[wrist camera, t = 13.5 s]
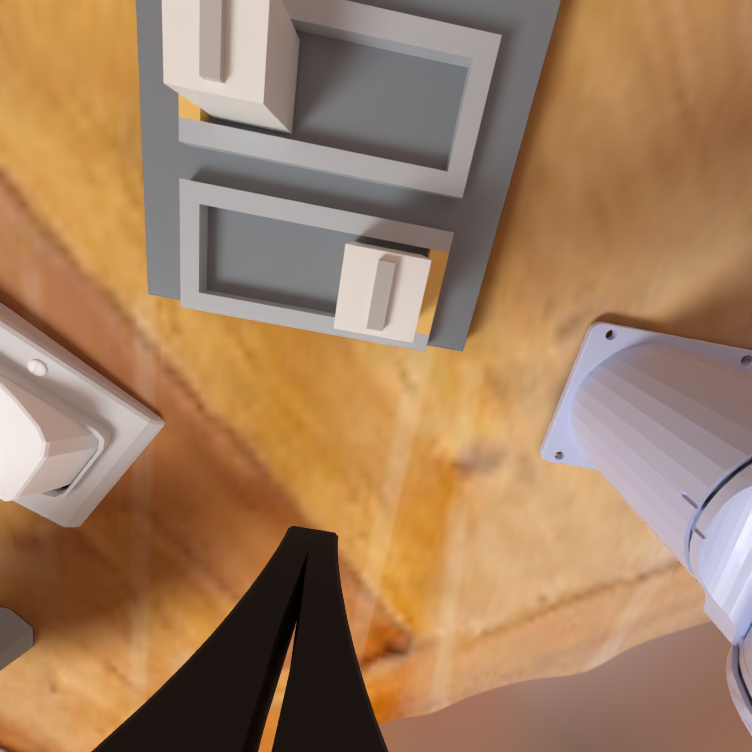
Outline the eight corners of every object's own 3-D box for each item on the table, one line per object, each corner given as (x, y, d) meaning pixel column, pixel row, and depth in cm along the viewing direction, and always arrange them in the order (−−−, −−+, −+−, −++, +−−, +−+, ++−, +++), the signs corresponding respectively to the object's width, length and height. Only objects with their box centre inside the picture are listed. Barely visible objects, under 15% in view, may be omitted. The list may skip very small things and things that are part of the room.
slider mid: (299, 40, 14) (267, -33, 10) (291, 133, 15) (260, 100, 11) (218, 22, 13) (154, -58, 10) (216, 118, 15) (157, 79, 11)
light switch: (44, 566, 22) (-219, 440, 18) (92, 513, 25) (-116, 400, 22) (140, 452, 19) (-153, 270, 15) (179, 411, 22) (-47, 259, 19)
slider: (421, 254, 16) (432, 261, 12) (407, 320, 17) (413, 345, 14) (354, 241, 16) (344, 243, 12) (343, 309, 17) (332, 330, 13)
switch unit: (596, -164, 12) (634, -235, 11) (457, 346, 19) (465, 358, 17) (147, -277, 12) (102, -372, 10) (162, 292, 18) (137, 299, 16)
